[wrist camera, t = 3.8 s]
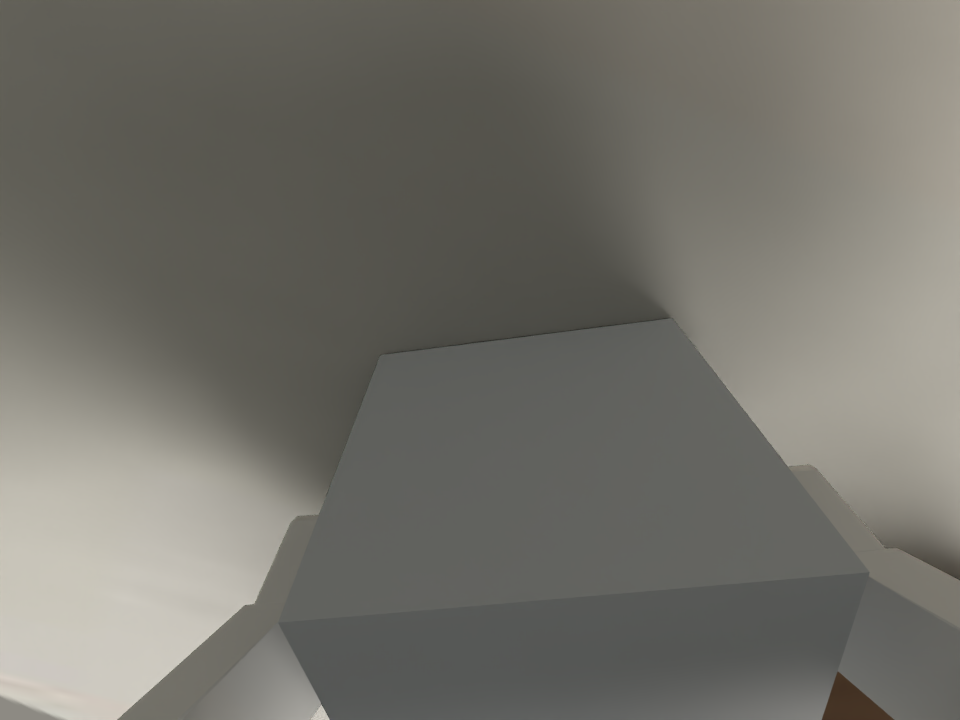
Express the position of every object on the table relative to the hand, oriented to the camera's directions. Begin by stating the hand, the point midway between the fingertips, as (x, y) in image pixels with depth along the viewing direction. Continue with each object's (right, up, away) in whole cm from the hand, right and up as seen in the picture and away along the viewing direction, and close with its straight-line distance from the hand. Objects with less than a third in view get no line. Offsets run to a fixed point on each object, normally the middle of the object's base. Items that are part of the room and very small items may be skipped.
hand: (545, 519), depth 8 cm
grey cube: (0, +1, +2) cm, 2 cm away
